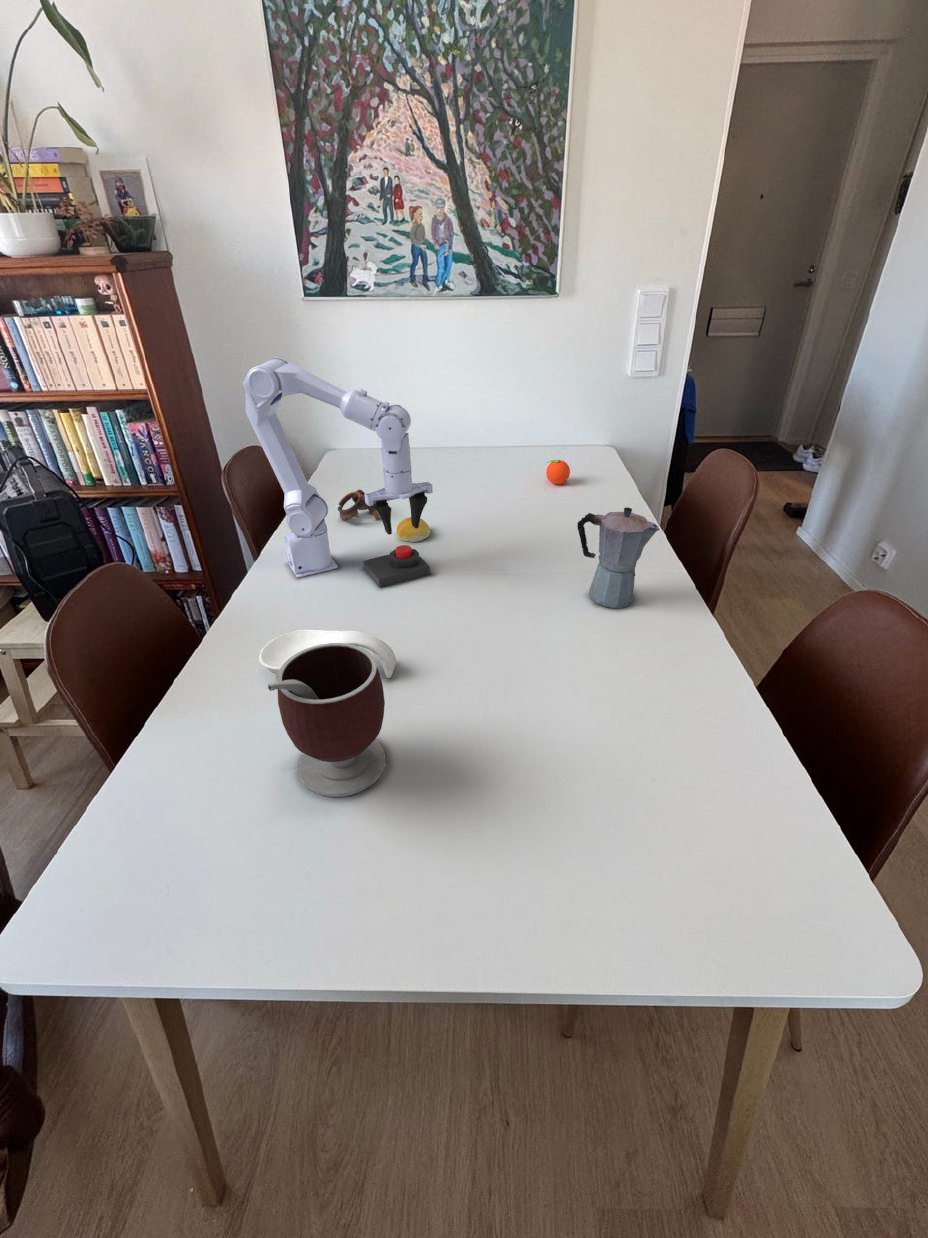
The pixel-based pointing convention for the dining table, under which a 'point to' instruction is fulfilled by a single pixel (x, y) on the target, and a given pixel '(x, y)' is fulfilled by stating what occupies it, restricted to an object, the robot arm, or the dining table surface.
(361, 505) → the brown looped frame
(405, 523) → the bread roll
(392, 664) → the spoon rest
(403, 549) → the power button
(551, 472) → the clementine
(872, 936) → the dining table surface
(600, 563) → the moka pot
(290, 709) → the mate gourd
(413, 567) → the push button base
